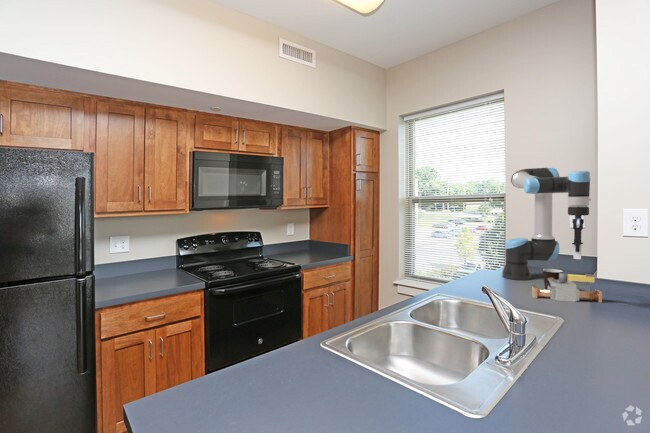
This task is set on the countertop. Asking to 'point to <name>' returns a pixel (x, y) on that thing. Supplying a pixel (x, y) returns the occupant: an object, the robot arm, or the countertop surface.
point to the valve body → (566, 292)
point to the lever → (576, 277)
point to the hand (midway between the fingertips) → (577, 258)
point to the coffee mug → (550, 276)
